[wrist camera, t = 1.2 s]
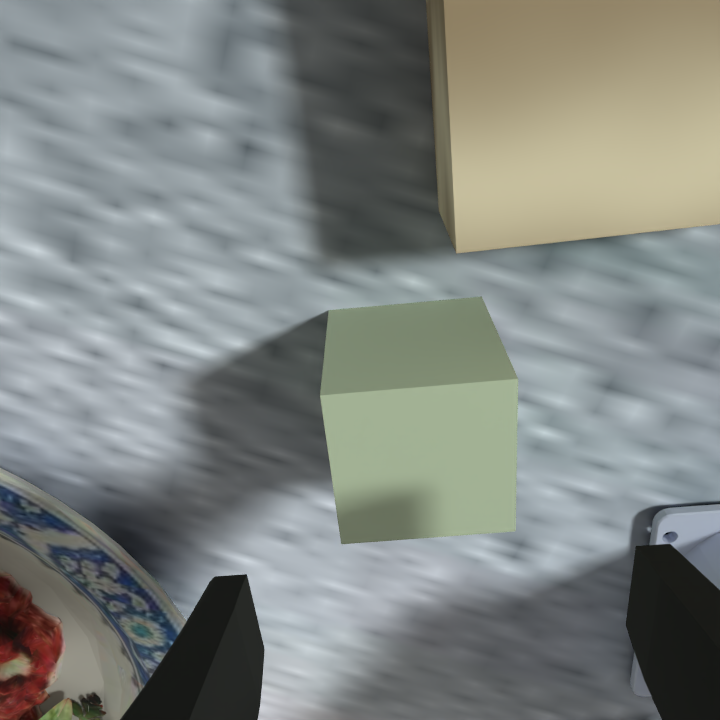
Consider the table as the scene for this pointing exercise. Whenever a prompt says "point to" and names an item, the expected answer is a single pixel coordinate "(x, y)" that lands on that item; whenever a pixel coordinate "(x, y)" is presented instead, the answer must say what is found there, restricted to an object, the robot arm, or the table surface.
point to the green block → (419, 421)
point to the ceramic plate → (72, 613)
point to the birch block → (574, 118)
